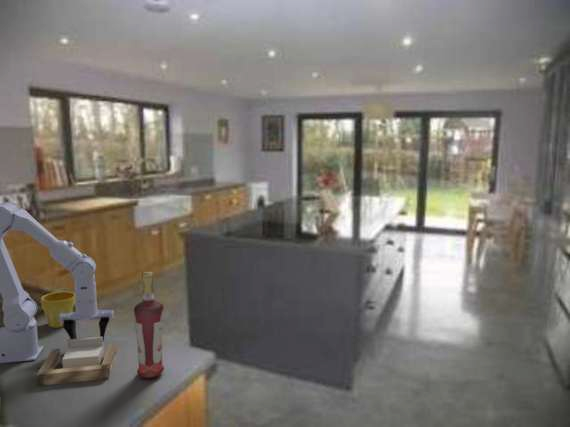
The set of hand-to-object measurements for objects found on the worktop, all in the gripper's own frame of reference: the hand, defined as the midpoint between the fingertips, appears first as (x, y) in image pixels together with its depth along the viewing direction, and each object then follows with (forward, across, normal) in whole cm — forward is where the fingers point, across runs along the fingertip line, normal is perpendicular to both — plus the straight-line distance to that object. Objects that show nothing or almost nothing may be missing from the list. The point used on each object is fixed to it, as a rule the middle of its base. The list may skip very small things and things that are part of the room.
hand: (88, 342), depth 129 cm
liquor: (+2, +19, -19) cm, 27 cm away
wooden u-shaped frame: (+2, 0, -12) cm, 12 cm away
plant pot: (+2, -13, +21) cm, 25 cm away
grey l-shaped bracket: (+2, +1, -10) cm, 10 cm away
